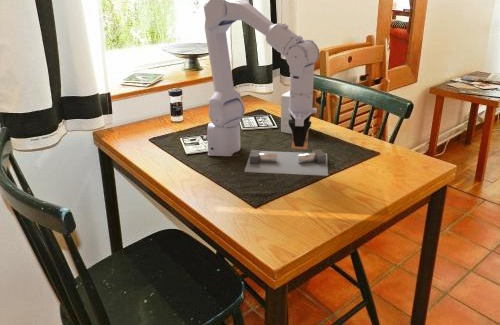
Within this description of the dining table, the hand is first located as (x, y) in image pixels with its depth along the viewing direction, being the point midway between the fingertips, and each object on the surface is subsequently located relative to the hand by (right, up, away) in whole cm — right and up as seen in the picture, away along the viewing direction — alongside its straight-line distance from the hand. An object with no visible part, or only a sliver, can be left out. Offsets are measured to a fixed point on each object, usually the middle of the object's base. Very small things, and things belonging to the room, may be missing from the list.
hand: (299, 142), depth 117 cm
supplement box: (+2, +5, +32) cm, 33 cm away
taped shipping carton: (0, -1, 0) cm, 1 cm away
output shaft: (+4, -6, +8) cm, 11 cm away
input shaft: (-9, -6, +9) cm, 14 cm away
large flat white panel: (-3, -6, +8) cm, 10 cm away
